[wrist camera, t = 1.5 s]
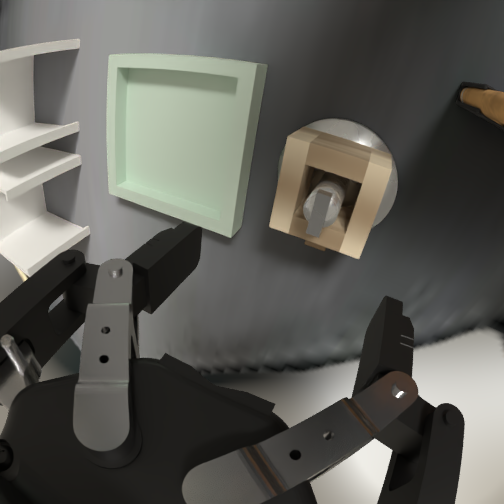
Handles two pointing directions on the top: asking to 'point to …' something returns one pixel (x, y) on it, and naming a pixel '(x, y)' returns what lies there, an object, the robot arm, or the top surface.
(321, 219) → the grey round stand
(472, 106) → the ammunition clip
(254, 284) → the top surface
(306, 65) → the top surface
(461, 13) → the top surface
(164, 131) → the tray
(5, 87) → the storage container
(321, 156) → the brown wooden frame
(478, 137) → the top surface
